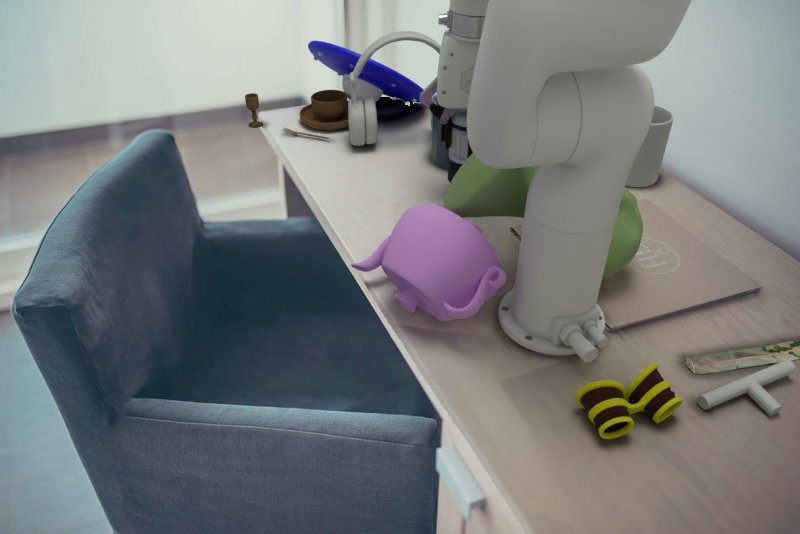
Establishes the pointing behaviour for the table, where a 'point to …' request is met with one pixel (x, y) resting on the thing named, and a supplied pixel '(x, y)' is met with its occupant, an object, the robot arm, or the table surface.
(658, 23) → the robot arm
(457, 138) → the beverage can
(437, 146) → the pot
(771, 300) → the table surface
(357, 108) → the headphones
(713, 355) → the bookmark
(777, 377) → the pipe joint
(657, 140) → the mug
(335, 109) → the place setting
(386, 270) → the teapot
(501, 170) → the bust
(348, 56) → the toy spaceship
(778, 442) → the table surface
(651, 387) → the opera glasses
